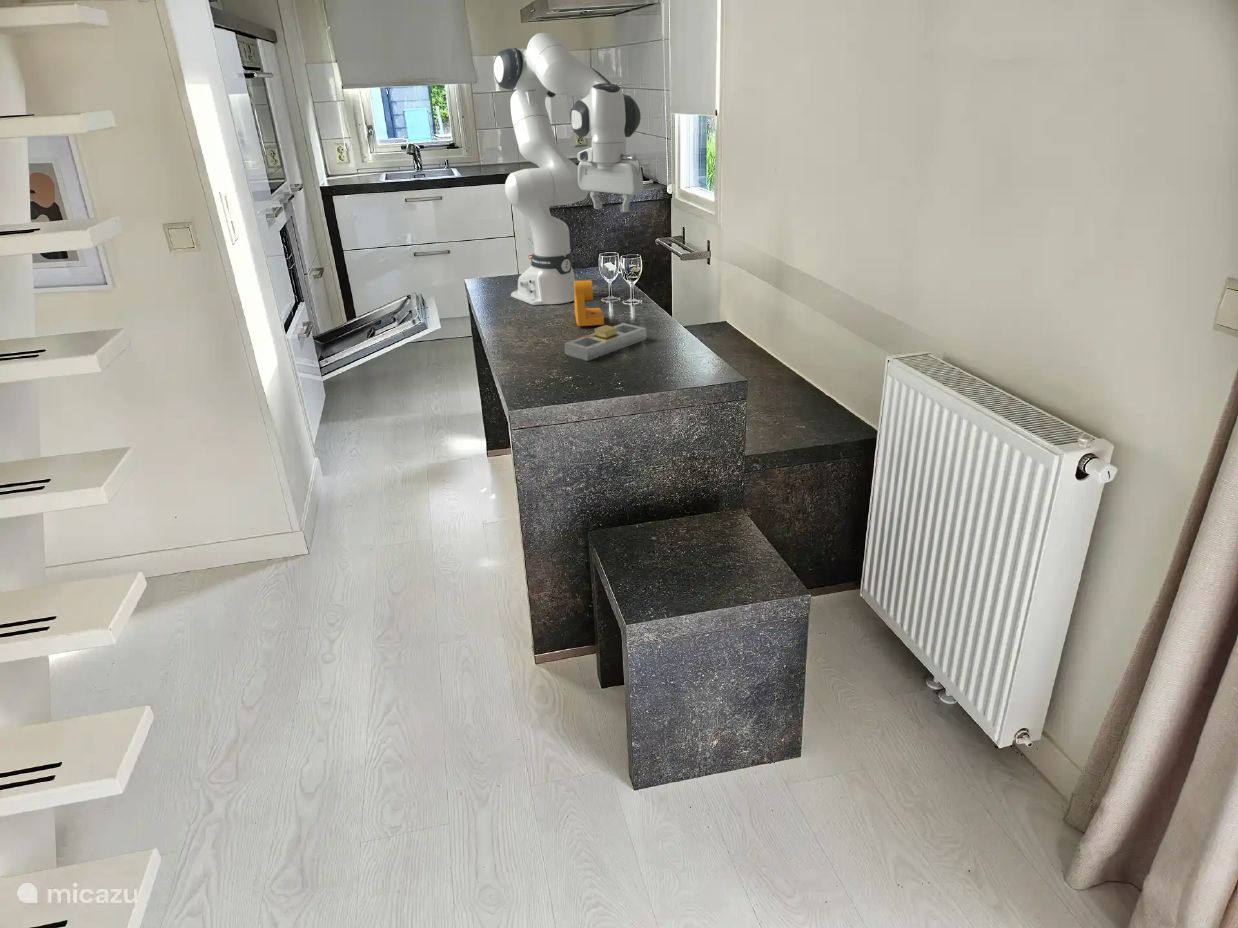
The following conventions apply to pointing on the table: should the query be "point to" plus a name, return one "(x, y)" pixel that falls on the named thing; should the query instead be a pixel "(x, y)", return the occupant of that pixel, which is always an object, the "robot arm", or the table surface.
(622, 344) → the grey rectangular frame
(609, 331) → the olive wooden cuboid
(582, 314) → the bracket
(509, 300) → the table surface
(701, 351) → the table surface
